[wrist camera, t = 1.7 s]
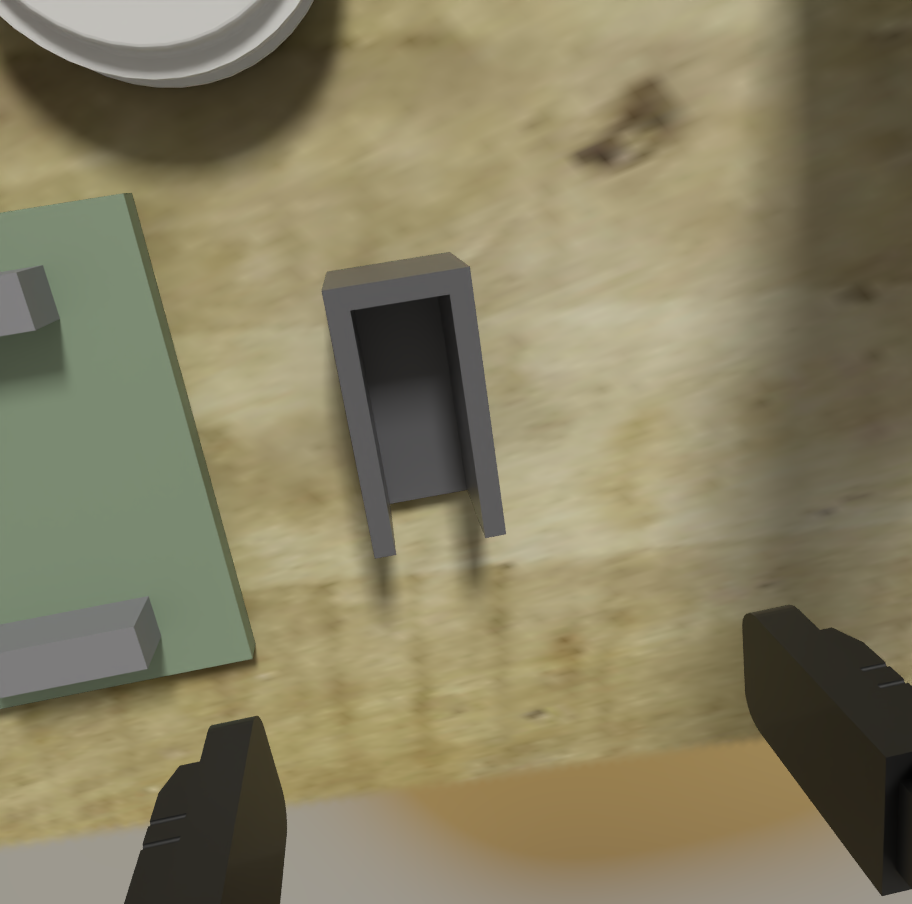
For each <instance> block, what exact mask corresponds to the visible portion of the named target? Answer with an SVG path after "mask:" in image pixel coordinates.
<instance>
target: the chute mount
mask: <svg viewBox="0 0 912 904" xmlns="http://www.w3.org/2000/svg"><path fill="white" fill-rule="evenodd" d="M254 649H255V641H254V637H253V633H252V630H251V626H250V622H249V619H248V615H247V611H246V608H245V604H244V601H243V597H242V593H241V590H240V586H239V582H238V579H237V575H236V571H235V568H234V564H233V560H232V557H231V553H230V549H229V546H228V542H227V539H226V535H225V531H224V528H223V524H222V520H221V517H220V513H219V509H218V506H217V502H216V498H215V495H214V491H213V487H212V484H211V480H210V476H209V473H208V469H207V466H206V462H205V458H204V455H203V451H202V447H201V444H200V440H199V436H198V433H197V429H196V425H195V422H194V418H193V414H192V411H191V407H190V404H189V400H188V396H187V393H186V389H185V385H184V382H183V378H182V374H181V371H180V367H179V363H178V360H177V356H176V352H175V349H174V345H173V341H172V338H171V334H170V331H169V327H168V323H167V320H166V316H165V312H164V309H163V305H162V301H161V298H160V294H159V290H158V287H157V283H156V279H155V276H154V272H153V269H152V265H151V261H150V258H149V254H148V250H147V247H146V243H145V239H144V236H143V232H142V228H141V225H140V221H139V217H138V214H137V210H136V206H135V203H134V199H133V196H132V193H123V194H117V195H111V196H104V197H98V198H92V199H85V200H79V201H72V202H66V203H60V204H53V205H47V206H41V207H34V208H28V209H22V210H15V211H9V212H3V213H0V709H2V708H7V707H13V706H18V705H23V704H28V703H33V702H38V701H43V700H48V699H53V698H58V697H63V696H68V695H73V694H78V693H83V692H88V691H93V690H98V689H103V688H108V687H113V686H118V685H123V684H128V683H133V682H138V681H143V680H148V679H153V678H158V677H163V676H168V675H173V674H178V673H183V672H188V671H193V670H198V669H203V668H208V667H213V666H218V665H224V664H229V663H234V662H239V661H244V660H249V659H252V658H253V654H254Z"/></svg>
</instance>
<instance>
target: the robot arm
mask: <svg viewBox="0 0 912 904" xmlns="http://www.w3.org/2000/svg"><path fill="white" fill-rule="evenodd" d="M742 629H743V653H744V677H745V694H746V700H747V704H748V708H749V711H750V714H751V716H752V719H753V721H754V723H755V725H756V727H757V728H758V730H759V731H760V733H761V734H762V736H763V737H764V738H765V740H766V741H767V742H768V744H769V745H770V746H771V748H772V749H773V750H774V751H775V753H776V754H777V756H778V757H779V758H780V760H781V761H782V763H783V764H784V765H785V767H786V768H787V769H788V771H789V772H790V773H791V775H792V776H793V777H794V779H795V780H796V781H797V783H798V784H799V785H800V786H801V788H802V789H803V791H804V792H805V793H806V795H807V796H808V797H809V799H810V800H811V801H812V803H813V804H814V805H815V807H816V808H817V810H818V811H819V812H820V814H821V815H822V816H823V818H824V819H825V820H826V822H827V823H828V824H829V826H830V827H831V828H832V830H833V831H834V832H835V834H836V835H837V837H838V838H839V839H840V840H841V842H842V843H843V844H844V846H845V847H846V849H847V850H848V851H849V853H850V854H851V855H852V857H853V858H854V859H855V861H856V862H857V863H858V865H859V866H860V867H861V869H862V870H863V872H864V873H865V874H866V875H867V877H868V878H869V879H870V881H871V882H872V884H873V885H874V886H875V888H876V889H877V890H878V892H879V893H880V894H881V896H885V895H889V894H893V893H897V892H901V891H906V890H909V889H912V686H911V685H910V684H909V683H906V684H905V682H904V679H903V678H902V677H901V676H900V675H899V674H898V673H897V672H896V671H894V670H893V669H892V668H891V667H890V666H889V667H887V666H886V664H885V662H884V661H883V660H882V659H881V658H880V657H879V656H878V655H877V654H876V653H874V652H873V651H872V650H871V649H870V648H869V647H868V646H867V645H866V644H864V643H863V642H861V641H859V640H857V639H855V638H853V637H851V636H848V635H846V634H844V633H842V632H840V631H838V630H836V629H834V628H828V629H823V630H819V629H818V628H817V627H816V626H815V625H814V624H813V623H812V622H811V621H810V620H809V619H808V618H807V617H806V616H805V615H804V614H803V613H802V612H801V611H800V610H798V609H797V608H796V607H795V606H793V605H785V606H781V607H776V608H771V609H767V610H762V611H757V612H752V613H748V614H746V615H745V616H744V618H743V624H742ZM286 837H287V819H286V807H285V800H284V795H283V791H282V787H281V784H280V780H279V777H278V774H277V770H276V767H275V763H274V760H273V756H272V753H271V750H270V746H269V743H268V739H267V736H266V733H265V729H264V726H263V723H262V721H261V719H260V718H259V716H254V717H249V718H244V719H240V720H235V721H230V722H225V723H221V724H216V725H211V726H210V728H209V729H208V732H207V736H206V740H205V744H204V748H203V752H202V756H201V759H200V762H195V763H191V764H186V765H181V766H179V767H178V769H177V770H176V771H175V773H174V774H173V775H172V776H171V778H170V779H169V780H168V782H167V783H166V784H165V785H164V787H163V788H162V789H161V791H160V792H159V794H158V797H157V800H156V803H155V806H154V809H153V813H152V816H151V819H150V826H148V829H147V832H146V835H145V838H144V841H143V850H141V851H140V854H139V857H138V861H137V864H136V867H135V870H134V874H133V877H132V880H131V883H130V886H129V890H128V893H127V896H126V899H125V902H124V904H280V898H281V888H282V878H283V867H284V857H285V847H286Z"/></svg>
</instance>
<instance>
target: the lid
mask: <svg viewBox="0 0 912 904" xmlns="http://www.w3.org/2000/svg"><path fill="white" fill-rule="evenodd" d="M313 1H314V0H0V16H1V17H2V18H3V19H4V20H5V21H7V22H8V23H9V24H10V25H11V26H12V27H13V28H15V29H16V30H18V31H19V32H20V33H22V34H23V35H25V36H26V37H28V38H29V39H31V40H32V41H34V42H35V43H37V44H38V45H39V46H41V47H43V48H45V49H47V50H48V51H50V52H52V53H54V54H56V55H58V56H60V57H62V58H64V59H66V60H68V61H70V62H73V63H75V64H78V65H80V66H83V67H85V68H88V69H90V70H93V71H95V72H97V73H99V74H102V75H104V76H106V77H110V78H113V79H117V80H120V81H124V82H127V83H131V84H136V85H143V86H150V87H157V88H184V87H191V86H197V85H204V84H209V83H212V82H215V81H219V80H222V79H225V78H228V77H231V76H233V75H235V74H237V73H239V72H241V71H243V70H245V69H247V68H249V67H251V66H253V65H255V64H256V63H258V62H259V61H260V60H262V59H263V58H265V57H266V56H267V55H269V54H270V53H272V52H273V51H274V50H275V49H276V48H277V47H278V46H279V45H280V44H281V43H282V42H283V41H284V40H285V39H286V38H288V37H289V36H290V35H291V34H292V32H293V31H294V30H295V28H296V27H297V26H298V24H299V23H300V22H301V20H302V19H303V18H304V16H305V15H306V14H307V12H308V10H309V9H310V7H311V5H312V3H313Z"/></svg>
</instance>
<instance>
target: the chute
mask: <svg viewBox="0 0 912 904" xmlns="http://www.w3.org/2000/svg"><path fill="white" fill-rule="evenodd" d="M322 295H323V300H324V305H325V310H326V315H327V320H328V325H329V330H330V335H331V341H332V346H333V351H334V356H335V361H336V366H337V371H338V376H339V381H340V386H341V391H342V396H343V401H344V406H345V411H346V416H347V421H348V426H349V431H350V436H351V441H352V446H353V451H354V456H355V461H356V466H357V471H358V476H359V481H360V486H361V491H362V496H363V501H364V506H365V511H366V516H367V521H368V526H369V531H370V536H371V541H372V546H373V551H374V556H375V558H381V557H386V556H392V555H396V549H395V541H394V533H393V524H392V516H391V507H390V504H392V503H397V502H403V501H408V500H414V499H419V498H425V497H430V496H436V495H441V494H447V493H452V492H458V491H463V490H468V493H469V496H470V498H471V501H472V504H473V507H474V509H475V512H476V515H477V517H478V520H479V523H480V525H481V528H482V531H483V533H484V536H485V538H488V537H494V536H499V535H504V534H506V530H505V523H504V515H503V508H502V501H501V493H500V486H499V479H498V471H497V464H496V456H495V449H494V442H493V434H492V427H491V420H490V412H489V405H488V397H487V390H486V383H485V375H484V368H483V361H482V353H481V346H480V338H479V331H478V324H477V316H476V309H475V302H474V294H473V287H472V279H471V272H470V266H468V265H467V264H465V263H464V262H463V261H461V260H460V259H459V258H457V257H456V256H454V255H453V254H452V253H450V252H447V253H441V254H434V255H428V256H422V257H416V258H410V259H403V260H397V261H391V262H385V263H378V264H372V265H366V266H360V267H354V268H347V269H341V270H335V271H329V272H327V273H326V277H325V280H324V284H323V287H322Z"/></svg>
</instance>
